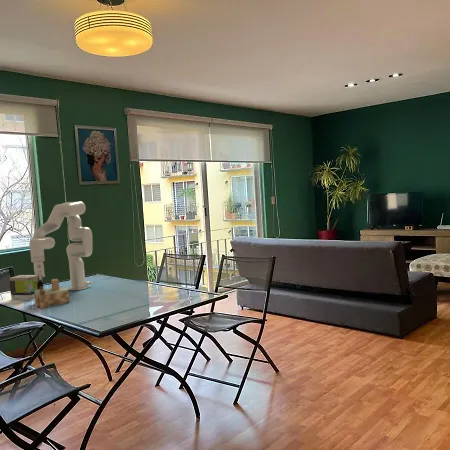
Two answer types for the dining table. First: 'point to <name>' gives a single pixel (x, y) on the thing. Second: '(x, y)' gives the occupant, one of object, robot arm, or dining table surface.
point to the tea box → (23, 287)
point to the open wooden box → (51, 299)
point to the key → (42, 290)
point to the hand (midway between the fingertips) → (40, 288)
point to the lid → (53, 288)
